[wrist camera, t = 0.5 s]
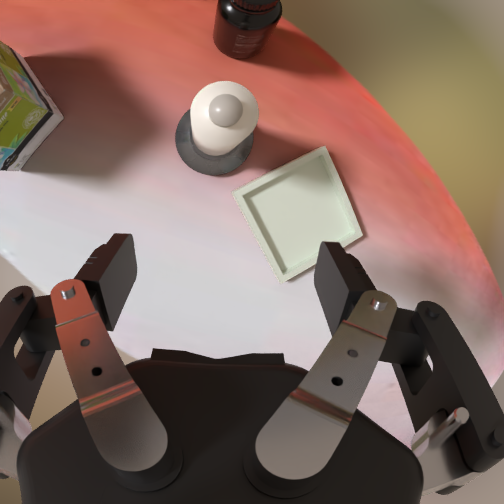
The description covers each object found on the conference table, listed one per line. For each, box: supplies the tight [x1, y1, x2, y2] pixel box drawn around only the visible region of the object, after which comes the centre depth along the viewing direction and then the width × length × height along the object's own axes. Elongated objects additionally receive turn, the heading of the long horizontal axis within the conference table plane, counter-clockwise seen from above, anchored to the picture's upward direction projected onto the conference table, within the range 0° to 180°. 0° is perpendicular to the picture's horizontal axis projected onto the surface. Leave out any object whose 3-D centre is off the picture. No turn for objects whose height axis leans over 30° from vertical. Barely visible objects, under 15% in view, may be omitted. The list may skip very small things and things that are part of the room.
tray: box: [231, 146, 363, 284], centre depth 36 cm, size 13×13×2 cm
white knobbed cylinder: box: [190, 81, 259, 156], centre depth 24 cm, size 5×5×11 cm
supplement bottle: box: [213, 0, 282, 58], centre depth 25 cm, size 7×7×12 cm
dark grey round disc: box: [175, 109, 253, 175], centre depth 31 cm, size 9×9×4 cm
